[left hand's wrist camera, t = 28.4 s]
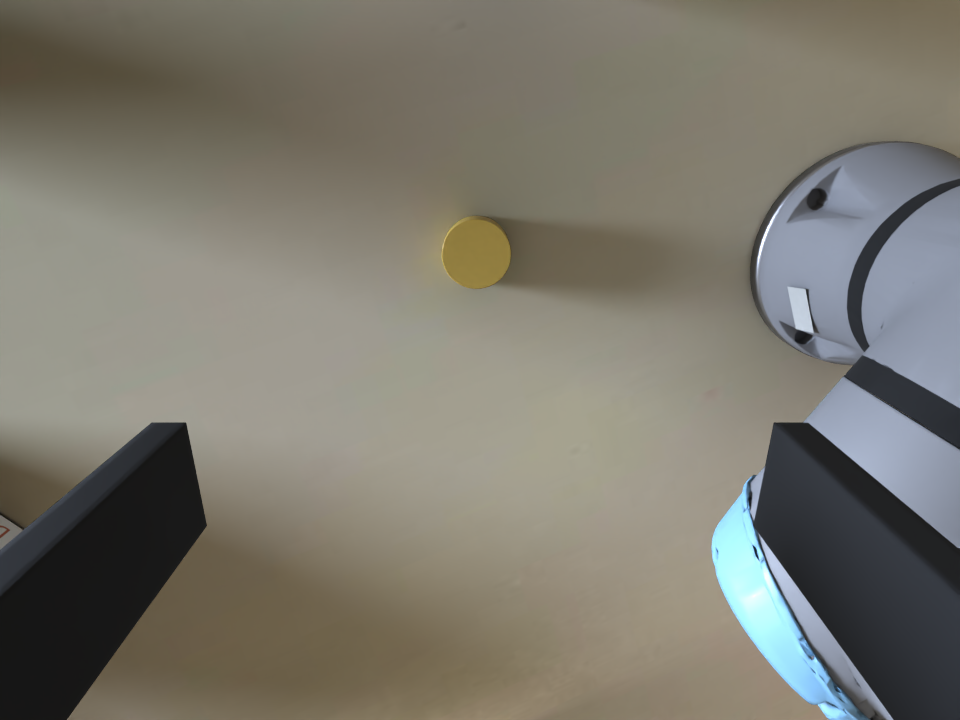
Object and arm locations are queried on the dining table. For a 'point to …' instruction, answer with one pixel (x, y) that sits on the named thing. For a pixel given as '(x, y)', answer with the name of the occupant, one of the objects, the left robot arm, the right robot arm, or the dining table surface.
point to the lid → (476, 252)
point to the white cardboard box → (7, 531)
